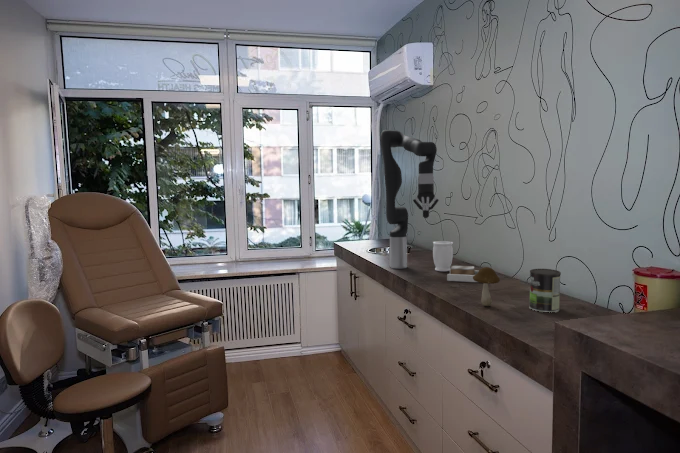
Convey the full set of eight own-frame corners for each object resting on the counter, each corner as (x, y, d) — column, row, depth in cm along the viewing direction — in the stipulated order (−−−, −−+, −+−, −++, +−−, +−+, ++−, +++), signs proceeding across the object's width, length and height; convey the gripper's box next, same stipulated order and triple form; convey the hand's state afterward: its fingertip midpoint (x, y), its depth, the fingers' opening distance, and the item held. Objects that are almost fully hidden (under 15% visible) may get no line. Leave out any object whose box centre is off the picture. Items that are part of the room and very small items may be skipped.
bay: (447, 280, 216) (447, 274, 216) (449, 275, 228) (449, 269, 228) (480, 282, 211) (480, 275, 211) (481, 276, 223) (481, 270, 223)
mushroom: (488, 300, 180) (488, 263, 178) (505, 308, 169) (505, 269, 167) (467, 302, 178) (467, 265, 176) (482, 311, 167) (483, 270, 165)
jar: (453, 272, 235) (453, 243, 233) (432, 271, 237) (432, 243, 235) (452, 268, 245) (452, 240, 244) (432, 267, 247) (432, 240, 246)
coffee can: (538, 313, 162) (538, 274, 161) (524, 305, 172) (524, 269, 171) (565, 312, 163) (566, 273, 161) (550, 304, 173) (551, 268, 172)
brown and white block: (450, 279, 220) (450, 268, 219) (451, 276, 226) (451, 265, 226) (474, 280, 216) (474, 269, 216) (474, 277, 223) (474, 266, 222)
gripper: (411, 183, 222) (411, 218, 224) (438, 182, 218) (438, 218, 220) (413, 183, 229) (414, 217, 231) (440, 182, 225) (440, 217, 227)
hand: (426, 218), depth 226 cm, fingers closed
